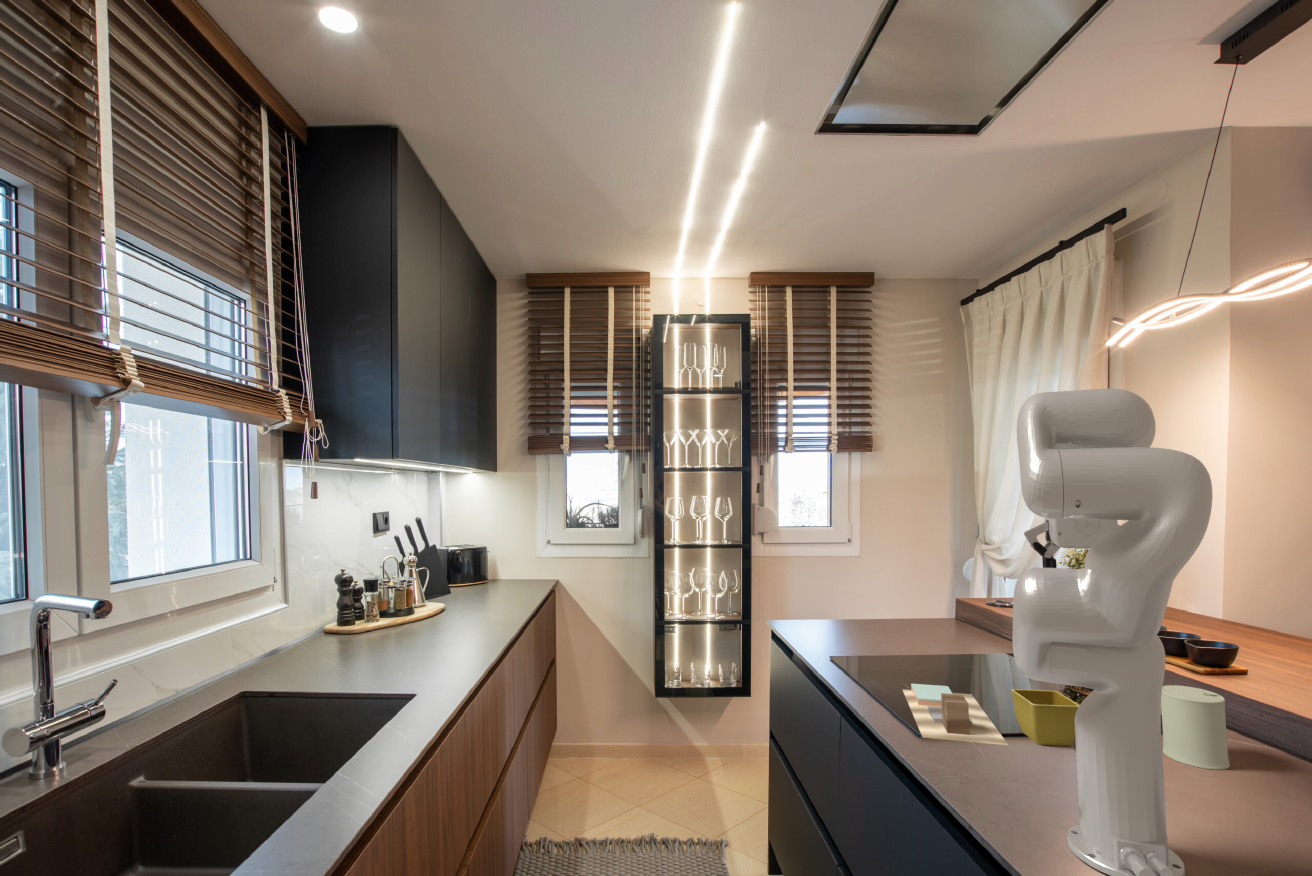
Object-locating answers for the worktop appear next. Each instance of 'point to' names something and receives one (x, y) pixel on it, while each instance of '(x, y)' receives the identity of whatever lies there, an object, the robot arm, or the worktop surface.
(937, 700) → the tile
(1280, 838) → the worktop surface
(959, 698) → the block on grey plate
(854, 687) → the worktop surface
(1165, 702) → the can
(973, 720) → the board
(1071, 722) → the flower pot
